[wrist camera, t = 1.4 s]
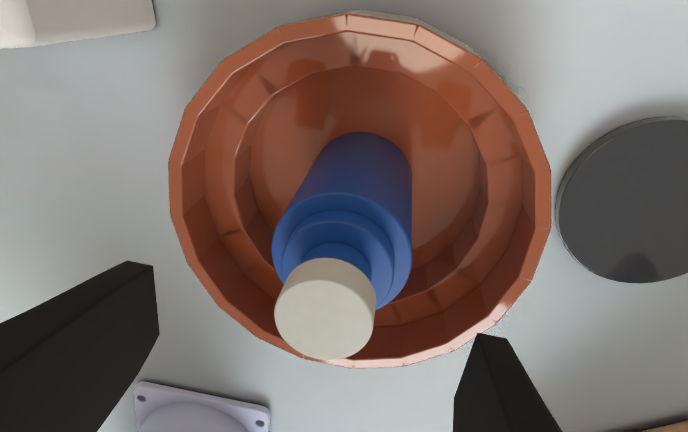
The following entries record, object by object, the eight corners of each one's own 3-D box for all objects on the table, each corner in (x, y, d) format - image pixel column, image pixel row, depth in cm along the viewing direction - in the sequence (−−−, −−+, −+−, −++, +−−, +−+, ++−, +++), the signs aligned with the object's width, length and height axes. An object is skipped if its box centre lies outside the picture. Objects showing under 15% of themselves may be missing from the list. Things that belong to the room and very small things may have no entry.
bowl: (475, 324, 23) (489, 396, 19) (214, 275, 23) (173, 333, 19) (567, 40, 17) (616, 54, 13) (218, -13, 18) (161, -16, 14)
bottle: (402, 233, 20) (394, 403, 12) (307, 216, 21) (234, 370, 12) (421, 140, 19) (428, 262, 10) (318, 123, 19) (240, 228, 10)
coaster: (695, 289, 20) (703, 297, 20) (532, 260, 21) (535, 267, 20) (783, 132, 17) (795, 137, 17) (590, 102, 18) (595, 105, 17)
